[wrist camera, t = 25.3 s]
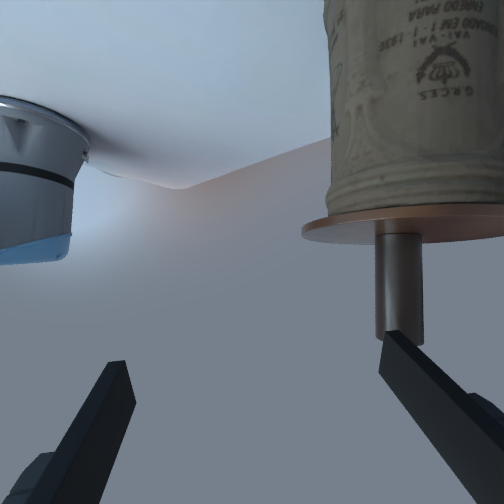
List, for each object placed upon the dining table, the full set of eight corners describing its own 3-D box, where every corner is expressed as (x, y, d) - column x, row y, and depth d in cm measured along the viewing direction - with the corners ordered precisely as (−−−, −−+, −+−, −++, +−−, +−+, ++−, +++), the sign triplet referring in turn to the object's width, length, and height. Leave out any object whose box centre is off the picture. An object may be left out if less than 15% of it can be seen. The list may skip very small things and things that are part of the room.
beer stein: (314, -148, 14) (312, 217, 14) (586, -288, 10) (584, 206, 10) (326, 59, 28) (326, 235, 28) (439, 31, 25) (439, 233, 25)
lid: (303, 239, 27) (302, 315, 26) (297, 208, 13) (294, 365, 13) (453, 238, 24) (455, 325, 23) (647, 197, 10) (663, 406, 10)
